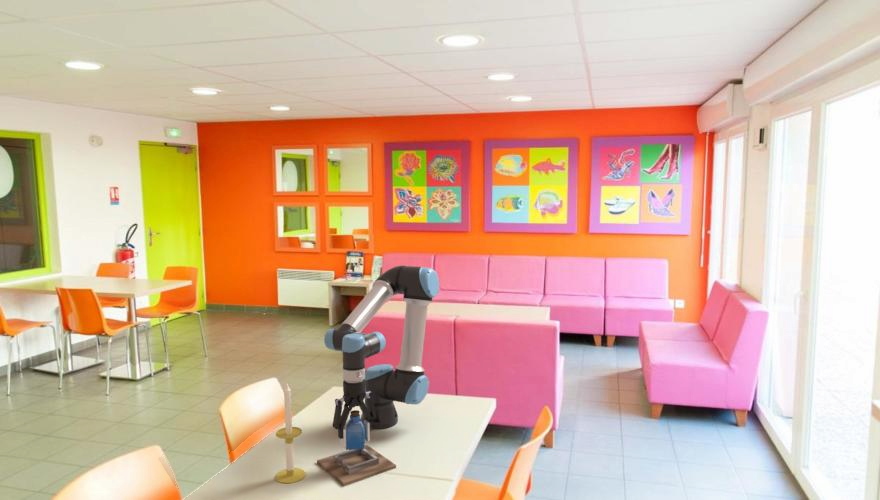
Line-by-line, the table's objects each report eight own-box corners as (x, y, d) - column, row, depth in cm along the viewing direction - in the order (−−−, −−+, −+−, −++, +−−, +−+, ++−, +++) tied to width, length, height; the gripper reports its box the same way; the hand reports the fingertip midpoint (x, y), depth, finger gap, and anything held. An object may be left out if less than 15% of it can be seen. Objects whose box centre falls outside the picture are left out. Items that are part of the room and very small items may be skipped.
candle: (277, 486, 191) (273, 389, 187) (273, 472, 200) (269, 379, 196) (308, 479, 195) (305, 385, 191) (302, 466, 204) (299, 375, 200)
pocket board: (316, 462, 206) (316, 454, 206) (366, 447, 218) (366, 439, 218) (344, 486, 190) (343, 477, 190) (396, 467, 202) (395, 459, 202)
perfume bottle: (346, 442, 206) (346, 408, 205) (364, 441, 206) (364, 408, 205) (345, 449, 200) (345, 415, 198) (364, 449, 200) (363, 415, 199)
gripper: (330, 389, 191) (332, 455, 194) (386, 376, 204) (387, 438, 207) (320, 383, 197) (322, 447, 200) (375, 370, 210) (376, 431, 213)
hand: (355, 443), depth 203 cm, fingers closed on perfume bottle, 8 cm apart
